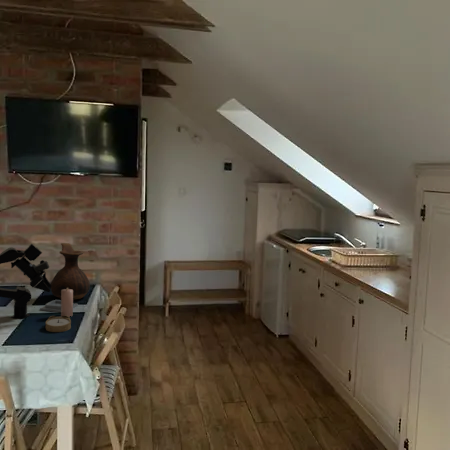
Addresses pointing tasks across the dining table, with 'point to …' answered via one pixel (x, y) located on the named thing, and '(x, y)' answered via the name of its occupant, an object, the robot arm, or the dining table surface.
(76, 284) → the jug
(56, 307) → the dish
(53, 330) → the alarm clock
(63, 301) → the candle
